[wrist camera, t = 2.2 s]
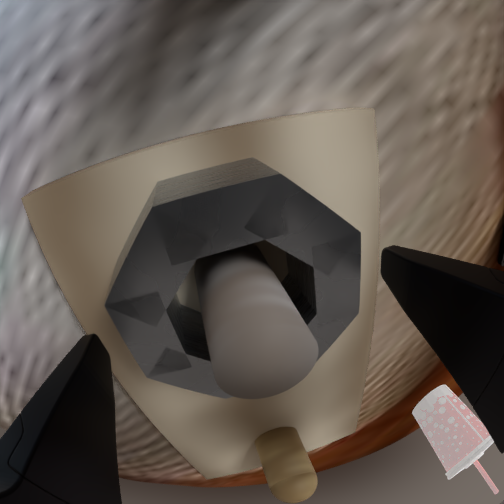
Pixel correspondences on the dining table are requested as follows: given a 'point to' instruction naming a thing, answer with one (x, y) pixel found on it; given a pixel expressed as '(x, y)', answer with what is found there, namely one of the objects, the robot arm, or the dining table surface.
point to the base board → (111, 217)
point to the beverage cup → (453, 432)
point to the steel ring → (218, 240)
